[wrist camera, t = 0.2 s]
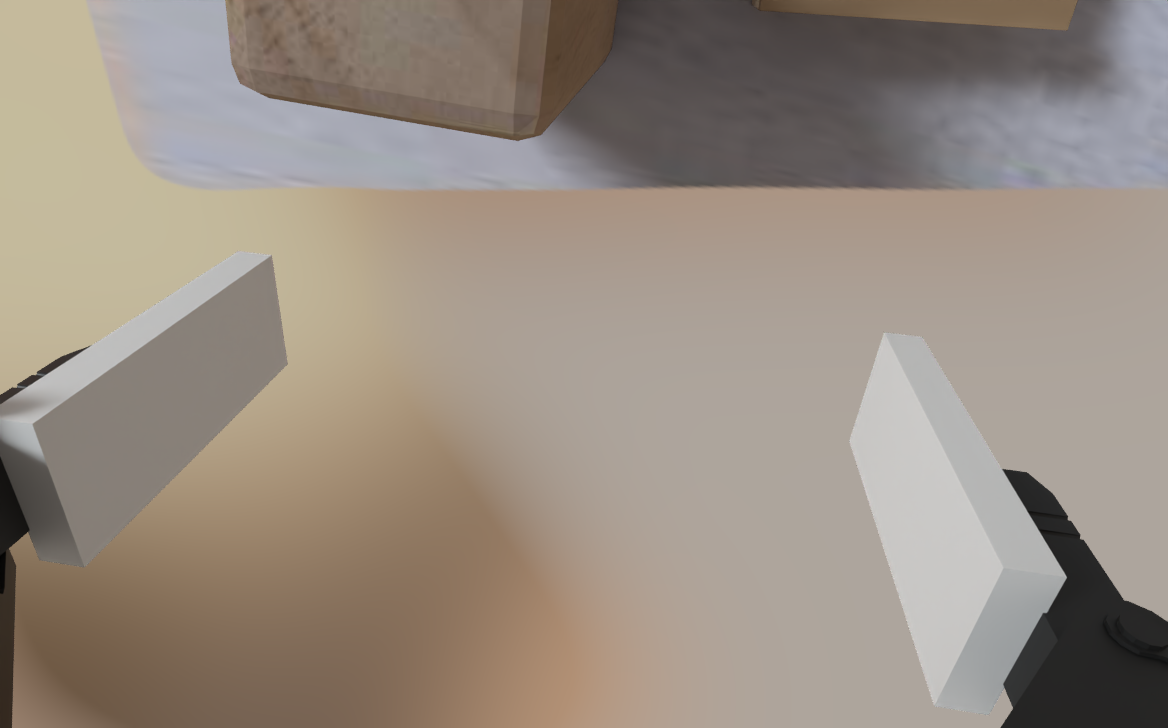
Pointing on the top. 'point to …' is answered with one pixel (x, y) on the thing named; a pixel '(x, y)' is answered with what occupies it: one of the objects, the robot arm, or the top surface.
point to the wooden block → (425, 57)
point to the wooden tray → (939, 10)
